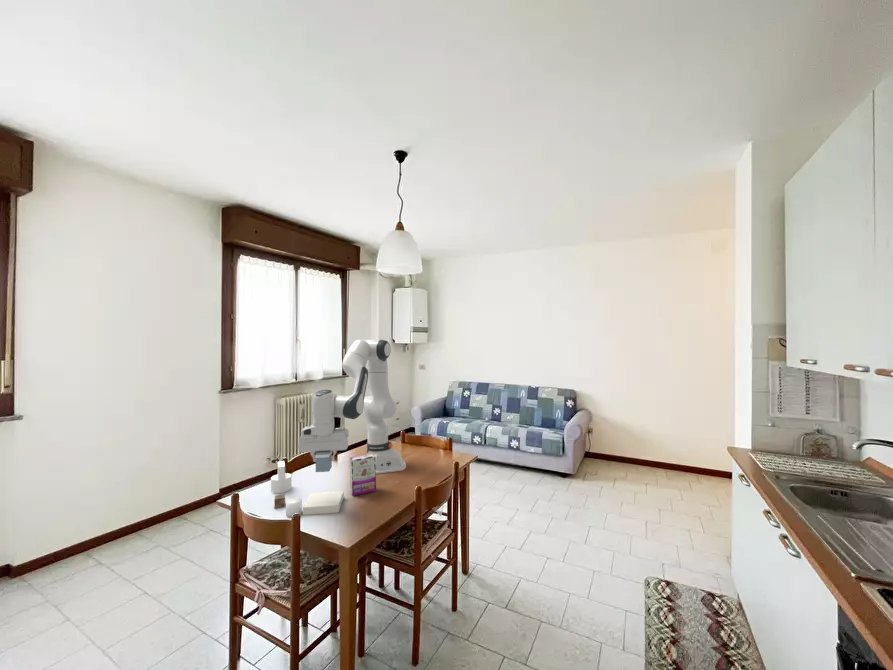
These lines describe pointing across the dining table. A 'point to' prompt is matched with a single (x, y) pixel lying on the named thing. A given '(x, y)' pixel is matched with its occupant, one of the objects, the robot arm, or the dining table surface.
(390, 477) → the dining table surface
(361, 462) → the candy bar box
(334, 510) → the podium
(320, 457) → the carton
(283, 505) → the walnut block
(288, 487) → the base with upright slab
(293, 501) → the white rounded block
